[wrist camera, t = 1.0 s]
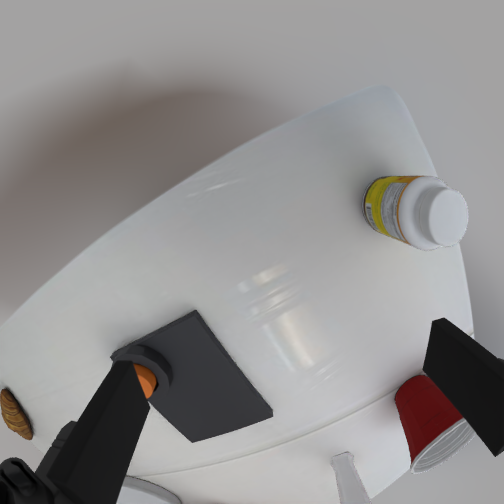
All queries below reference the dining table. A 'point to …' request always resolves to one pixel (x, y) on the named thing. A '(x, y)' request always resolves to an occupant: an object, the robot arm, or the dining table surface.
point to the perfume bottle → (349, 480)
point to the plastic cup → (430, 424)
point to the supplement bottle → (416, 211)
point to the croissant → (14, 415)
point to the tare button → (146, 379)
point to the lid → (144, 493)
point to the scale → (196, 380)
